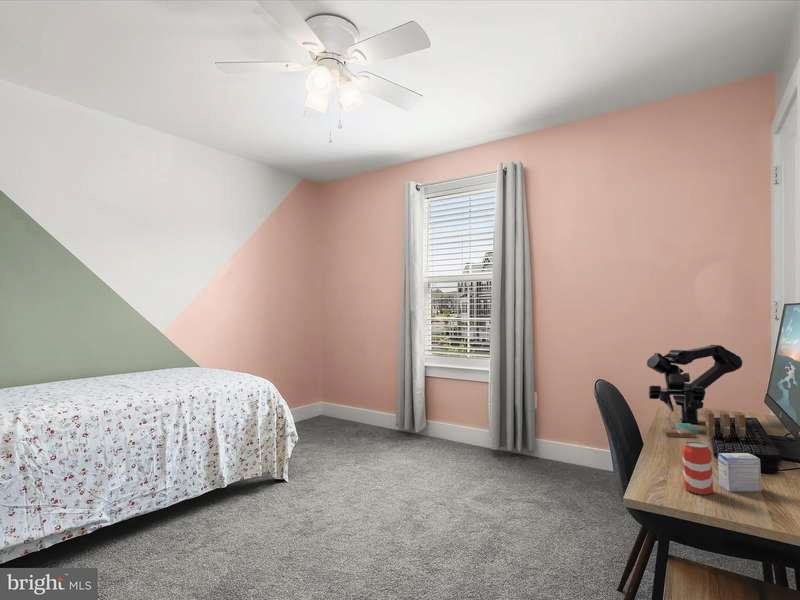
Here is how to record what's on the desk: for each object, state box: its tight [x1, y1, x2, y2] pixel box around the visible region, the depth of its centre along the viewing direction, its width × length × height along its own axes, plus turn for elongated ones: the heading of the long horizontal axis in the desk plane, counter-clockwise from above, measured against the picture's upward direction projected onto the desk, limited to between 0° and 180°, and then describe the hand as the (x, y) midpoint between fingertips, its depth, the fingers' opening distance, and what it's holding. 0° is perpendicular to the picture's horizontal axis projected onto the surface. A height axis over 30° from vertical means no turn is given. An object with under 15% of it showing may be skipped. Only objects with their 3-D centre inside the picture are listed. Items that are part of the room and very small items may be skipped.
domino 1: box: [661, 428, 695, 439], centre depth 169 cm, size 2×5×9 cm
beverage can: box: [681, 440, 714, 495], centre depth 119 cm, size 6×6×12 cm
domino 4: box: [734, 411, 747, 437], centre depth 162 cm, size 2×5×9 cm, turn 156°
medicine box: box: [717, 452, 762, 492], centre depth 119 cm, size 8×4×9 cm, turn 84°
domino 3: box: [719, 410, 731, 436], centre depth 164 cm, size 2×5×9 cm, turn 156°
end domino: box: [675, 422, 700, 435], centre depth 176 cm, size 2×5×9 cm
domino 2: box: [704, 410, 716, 440], centre depth 166 cm, size 2×5×9 cm, turn 156°
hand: (679, 411), depth 175 cm, fingers open, 4 cm apart
